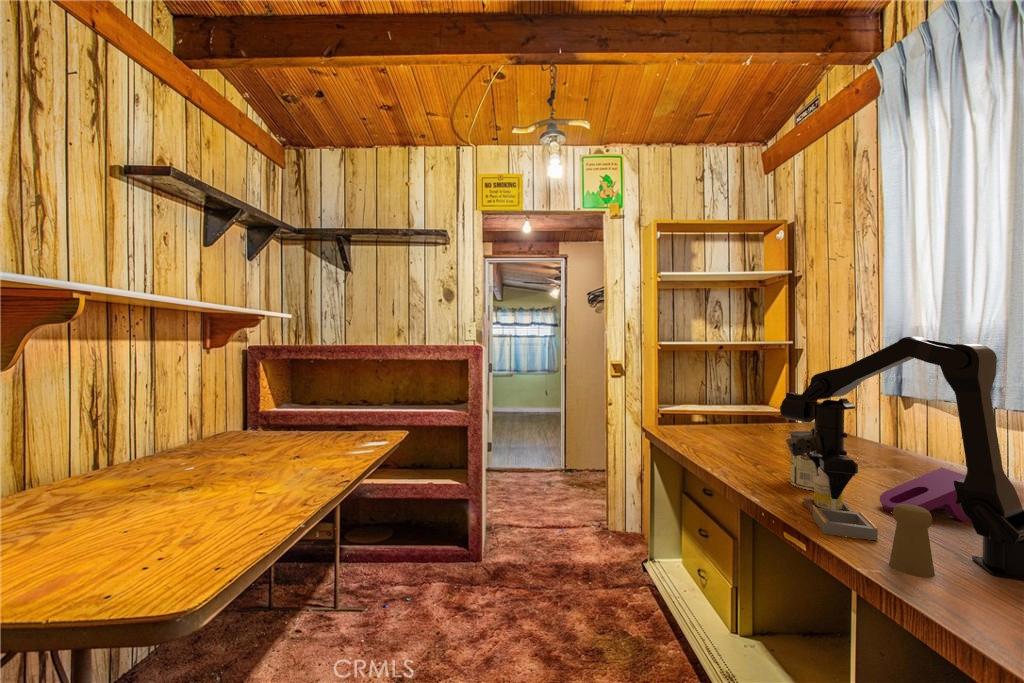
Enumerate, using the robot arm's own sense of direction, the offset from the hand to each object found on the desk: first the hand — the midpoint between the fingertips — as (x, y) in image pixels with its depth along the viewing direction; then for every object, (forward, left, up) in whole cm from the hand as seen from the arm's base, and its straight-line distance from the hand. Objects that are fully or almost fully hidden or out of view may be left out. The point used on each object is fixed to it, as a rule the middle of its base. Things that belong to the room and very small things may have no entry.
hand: (828, 492), depth 106 cm
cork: (-26, -6, -4) cm, 27 cm away
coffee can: (+19, -1, -4) cm, 20 cm away
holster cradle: (0, 0, -4) cm, 4 cm away
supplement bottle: (0, 0, -4) cm, 5 cm away
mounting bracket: (+7, -21, -5) cm, 22 cm away
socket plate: (-11, 0, -4) cm, 12 cm away
